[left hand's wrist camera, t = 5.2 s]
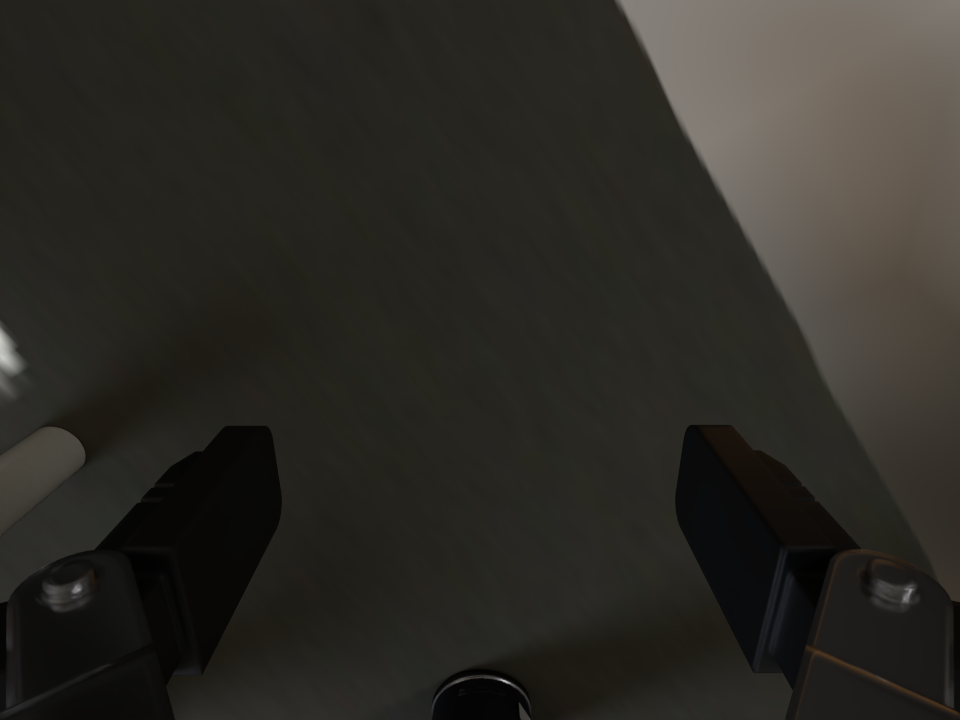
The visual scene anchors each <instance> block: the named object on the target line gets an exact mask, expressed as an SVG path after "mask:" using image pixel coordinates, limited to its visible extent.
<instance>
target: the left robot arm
mask: <svg viewBox="0 0 960 720" xmlns="http://www.w3.org/2000/svg"><path fill="white" fill-rule="evenodd" d="M675 505H676V514H677V519H678V522H679V525H680V528H681V530H682V532H683V534H684V536H685V538H686V540H687V542H688V544H689V546H690V548H691V550H692V552H693V554H694V556H695V558H696V560H697V562H698V564H699V566H700V567H701V569H702V571H703V573H704V575H705V577H706V579H707V581H708V583H709V585H710V587H711V589H712V591H713V593H714V595H715V597H716V599H717V601H718V603H719V605H720V607H721V609H722V611H723V613H724V615H725V617H726V619H727V621H728V623H729V625H730V627H731V629H732V631H733V633H734V635H735V637H736V639H737V641H738V643H739V645H740V647H741V649H742V651H743V653H744V655H745V657H746V659H747V661H748V663H749V665H750V667H751V669H752V671H753V673H783V674H784V675H785V677H786V679H787V681H788V683H789V684H790V686H791V688H792V690H793V693H792V696H791V700H790V703H789V707H788V710H787V714H786V717H785V720H960V602H956V601H951V599H950V596H949V595H948V593H947V592H946V591H945V589H944V588H943V587H942V586H941V585H940V584H939V583H938V582H937V581H936V580H934V579H933V578H932V577H931V576H929V575H928V574H927V573H925V572H924V571H922V570H921V569H919V568H917V567H915V566H914V565H912V564H910V563H908V562H905V561H903V560H901V559H899V558H896V557H893V556H890V555H887V554H884V553H880V552H876V551H870V550H862V549H861V548H860V547H859V546H858V545H857V544H856V543H855V541H854V540H853V539H852V538H851V537H850V536H849V535H848V534H847V533H846V532H845V530H844V529H843V528H842V527H841V526H840V525H839V524H838V523H837V522H836V521H835V519H834V518H833V517H832V516H831V515H830V514H829V513H828V512H827V511H826V510H825V508H824V507H823V506H822V505H821V504H820V503H819V502H818V501H815V497H814V496H813V495H812V494H811V493H810V492H809V491H808V490H807V489H806V488H805V487H802V486H801V482H800V481H799V480H798V479H797V478H796V477H795V475H794V474H793V473H792V472H791V471H790V470H789V469H788V468H787V467H786V466H785V465H784V464H782V463H781V462H779V461H777V460H776V459H774V458H772V457H771V456H769V455H767V454H766V453H764V452H762V451H761V450H753V449H752V448H751V447H750V446H749V445H748V444H747V442H746V441H745V440H744V439H743V438H742V437H741V435H740V434H739V433H738V432H737V431H736V429H735V428H734V427H733V426H731V425H690V426H689V427H688V428H687V430H686V432H685V436H684V441H683V448H682V455H681V461H680V468H679V475H678V481H677V488H676V496H675ZM281 507H282V497H281V489H280V483H279V476H278V469H277V463H276V456H275V450H274V443H273V437H272V434H271V431H270V429H269V428H268V427H267V426H226V427H224V428H223V429H222V430H221V431H220V432H219V433H218V435H217V436H216V437H215V438H214V439H213V440H212V441H211V443H210V444H209V445H208V446H207V447H206V448H205V450H204V451H203V452H194V453H192V454H191V455H189V456H187V457H186V458H184V459H183V460H181V461H179V462H178V463H176V464H174V465H173V466H171V467H170V468H169V469H168V470H167V471H166V472H165V473H164V475H163V476H162V477H161V478H160V479H159V480H158V481H157V482H156V483H155V487H154V488H151V489H150V490H149V491H148V492H147V493H146V494H145V495H144V496H143V497H142V498H141V503H137V504H136V505H135V506H134V507H133V508H132V509H131V510H130V512H129V513H128V514H127V515H126V516H125V517H124V518H123V519H122V520H121V521H120V522H119V524H118V525H117V526H116V527H115V528H114V529H113V530H112V531H111V532H110V533H109V534H108V536H107V537H106V538H105V539H104V540H103V541H102V542H101V543H100V544H99V545H98V546H97V548H96V549H95V550H90V551H84V552H80V553H76V554H73V555H70V556H67V557H64V558H61V559H59V560H57V561H55V562H52V563H50V564H48V565H46V566H45V567H43V568H41V569H39V570H38V571H36V572H35V573H33V574H32V575H31V576H29V577H28V578H27V579H26V580H24V581H23V582H22V583H21V584H20V585H19V586H18V587H17V588H16V589H15V591H14V592H13V593H12V595H11V596H10V599H9V601H7V602H4V603H0V720H175V717H174V714H173V710H172V707H171V703H170V700H169V696H168V693H167V689H166V685H167V683H168V682H169V680H170V678H171V676H172V675H202V674H203V672H204V670H205V668H206V666H207V664H208V662H209V660H210V658H211V656H212V654H213V652H214V650H215V648H216V647H217V645H218V643H219V641H220V639H221V637H222V635H223V633H224V631H225V629H226V627H227V625H228V623H229V621H230V619H231V617H232V615H233V613H234V611H235V609H236V607H237V605H238V603H239V601H240V599H241V597H242V596H243V594H244V592H245V590H246V588H247V586H248V584H249V582H250V580H251V578H252V576H253V574H254V572H255V570H256V568H257V566H258V564H259V562H260V560H261V558H262V556H263V554H264V552H265V550H266V548H267V546H268V545H269V543H270V541H271V539H272V537H273V535H274V533H275V531H276V529H277V526H278V524H279V520H280V515H281ZM432 720H531V702H530V698H529V695H528V693H527V691H526V690H525V688H524V687H523V686H522V685H521V684H520V683H519V682H518V681H516V680H515V679H513V678H511V677H509V676H507V675H505V674H502V673H498V672H494V671H486V670H477V671H469V672H464V673H461V674H458V675H456V676H453V677H452V678H450V679H448V680H447V681H445V682H444V683H443V684H442V685H441V686H440V687H439V688H438V689H437V691H436V693H435V695H434V697H433V701H432Z"/></svg>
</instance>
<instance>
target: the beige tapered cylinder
mask: <svg viewBox="0 0 960 720" xmlns="http://www.w3.org/2000/svg"><path fill="white" fill-rule="evenodd" d="M84 462H85V450H84V448H83V446H82V444H81V442H80V441H79V440H78V439H77V438H76V437H75V436H74V435H73V434H71V433H70V432H68V431H66V430H64V429H61V428H57V427H43V428H40V429H38V430H36V431H34V432H33V433H32V434H30V435H29V436H27V437H26V438H24V439H23V440H21V441H20V442H18V443H17V444H15V445H14V446H12V447H11V448H9V449H8V450H6V451H5V452H4V453H2V454H1V455H0V537H1V536H2V535H3V534H4V533H5V532H7V531H8V530H9V529H10V528H11V527H12V526H14V525H15V524H16V523H17V522H18V521H20V520H21V519H22V518H23V517H24V516H25V515H27V514H28V513H29V512H30V511H31V510H32V509H34V508H35V507H36V506H37V505H38V504H40V503H41V502H42V501H43V500H44V499H45V498H47V497H48V496H49V495H50V494H51V493H52V492H54V491H55V490H56V489H57V488H58V487H60V486H61V485H62V484H63V483H64V482H65V481H67V480H68V479H69V478H70V477H71V476H73V475H74V474H75V473H76V472H77V471H78V470H80V469H81V468H82V466H83V465H84Z"/></svg>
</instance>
